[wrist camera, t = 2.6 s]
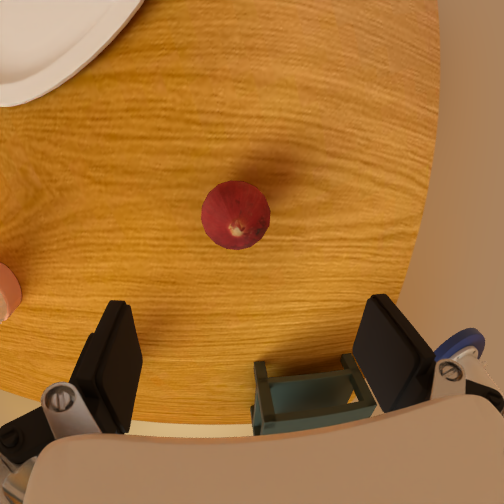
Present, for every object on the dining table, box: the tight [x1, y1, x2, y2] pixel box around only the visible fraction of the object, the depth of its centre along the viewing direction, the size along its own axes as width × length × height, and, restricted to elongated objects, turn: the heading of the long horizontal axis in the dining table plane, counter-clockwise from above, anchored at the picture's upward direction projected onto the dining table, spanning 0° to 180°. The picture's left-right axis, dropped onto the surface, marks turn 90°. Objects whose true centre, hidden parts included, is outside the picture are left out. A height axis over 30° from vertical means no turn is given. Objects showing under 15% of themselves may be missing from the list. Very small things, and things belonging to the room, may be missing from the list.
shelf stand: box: [250, 353, 377, 436], centre depth 36 cm, size 14×12×10 cm
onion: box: [201, 181, 270, 250], centre depth 25 cm, size 6×6×8 cm
